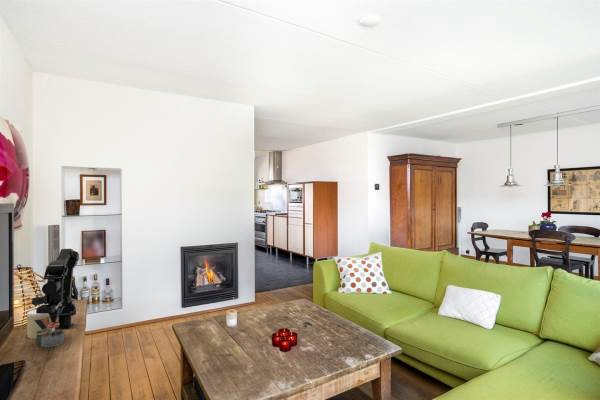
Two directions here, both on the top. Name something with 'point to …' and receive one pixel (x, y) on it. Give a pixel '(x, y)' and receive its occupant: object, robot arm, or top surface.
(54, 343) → the grey open tray
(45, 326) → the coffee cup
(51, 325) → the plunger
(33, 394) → the top surface
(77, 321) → the top surface
